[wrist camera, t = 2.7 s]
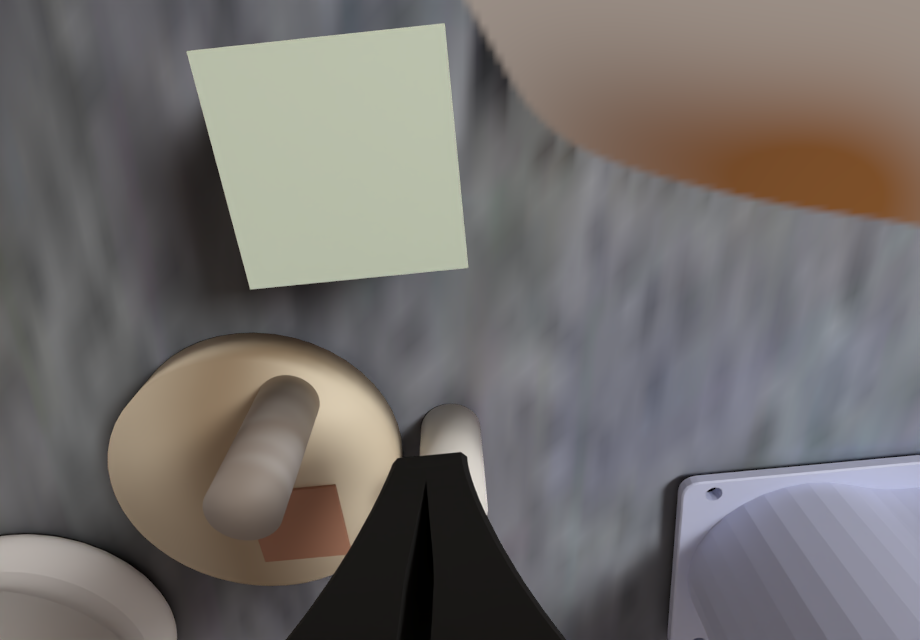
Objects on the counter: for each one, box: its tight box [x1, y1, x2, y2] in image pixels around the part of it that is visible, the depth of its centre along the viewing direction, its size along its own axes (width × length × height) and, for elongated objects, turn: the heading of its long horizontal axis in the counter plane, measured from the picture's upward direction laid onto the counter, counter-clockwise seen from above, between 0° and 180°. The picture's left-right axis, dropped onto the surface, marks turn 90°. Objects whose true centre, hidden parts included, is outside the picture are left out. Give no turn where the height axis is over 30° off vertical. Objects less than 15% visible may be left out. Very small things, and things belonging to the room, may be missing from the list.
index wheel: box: [108, 333, 403, 586], centre depth 16 cm, size 8×8×6 cm
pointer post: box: [420, 404, 488, 515], centre depth 17 cm, size 2×2×4 cm
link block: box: [187, 23, 468, 290], centre depth 12 cm, size 4×4×5 cm
